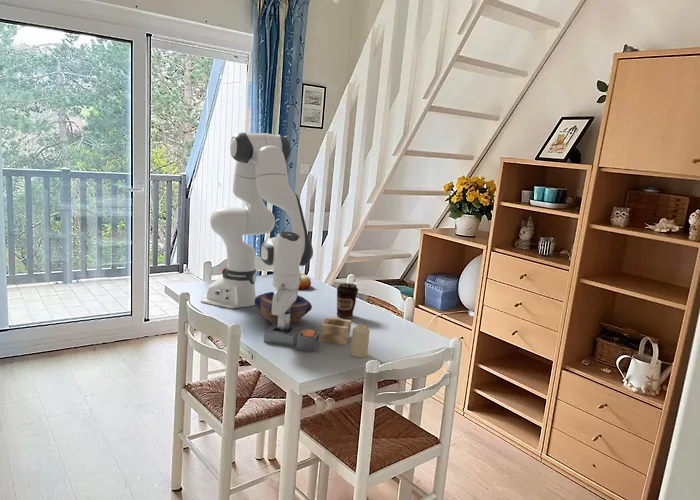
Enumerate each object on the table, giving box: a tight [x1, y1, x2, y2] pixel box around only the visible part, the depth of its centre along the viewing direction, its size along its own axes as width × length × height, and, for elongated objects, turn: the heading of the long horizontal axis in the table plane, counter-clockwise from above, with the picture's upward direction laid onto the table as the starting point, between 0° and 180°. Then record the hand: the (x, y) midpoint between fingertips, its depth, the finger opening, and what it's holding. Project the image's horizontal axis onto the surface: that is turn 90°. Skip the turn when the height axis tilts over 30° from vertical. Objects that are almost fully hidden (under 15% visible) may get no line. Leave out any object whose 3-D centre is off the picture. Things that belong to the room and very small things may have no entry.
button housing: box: [296, 329, 321, 354], centre depth 174 cm, size 6×6×5 cm
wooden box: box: [319, 316, 352, 346], centre depth 185 cm, size 9×9×6 cm
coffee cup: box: [336, 282, 359, 319], centre depth 209 cm, size 9×8×13 cm
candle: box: [350, 323, 370, 359], centre depth 172 cm, size 6×6×10 cm
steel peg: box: [277, 307, 291, 333], centre depth 180 cm, size 4×4×11 cm
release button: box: [302, 328, 316, 337], centre depth 174 cm, size 4×4×4 cm
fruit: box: [298, 273, 312, 290], centre depth 248 cm, size 11×10×8 cm
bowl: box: [254, 291, 313, 325], centre depth 197 cm, size 18×18×10 cm
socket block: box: [263, 323, 302, 347], centre depth 181 cm, size 10×10×4 cm
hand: (283, 320), depth 180 cm, fingers closed on steel peg, 4 cm apart
